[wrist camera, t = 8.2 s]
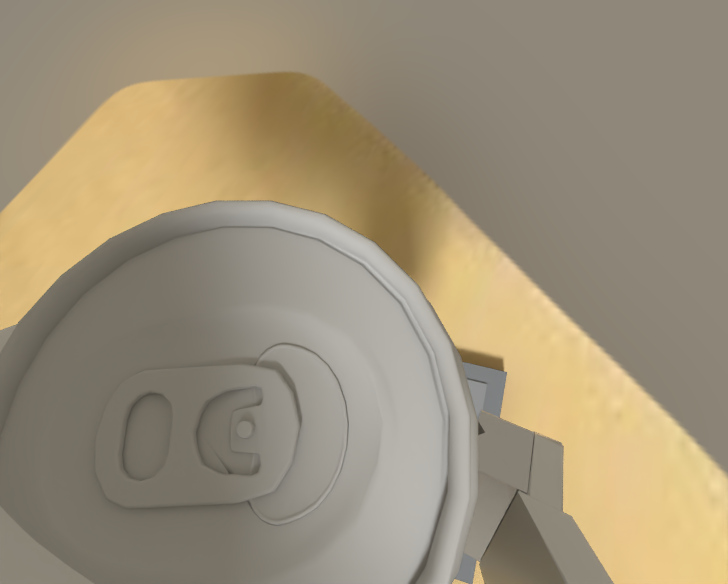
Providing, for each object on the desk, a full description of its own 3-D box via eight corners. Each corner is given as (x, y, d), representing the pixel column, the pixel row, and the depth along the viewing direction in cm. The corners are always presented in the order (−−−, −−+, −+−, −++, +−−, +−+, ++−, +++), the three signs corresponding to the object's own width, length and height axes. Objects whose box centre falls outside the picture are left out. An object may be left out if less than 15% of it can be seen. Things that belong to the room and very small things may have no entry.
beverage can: (450, 524, 14) (550, 845, 2) (301, 528, 14) (-158, 809, 3) (434, 371, 15) (452, 157, 4) (302, 380, 16) (7, 213, 5)
